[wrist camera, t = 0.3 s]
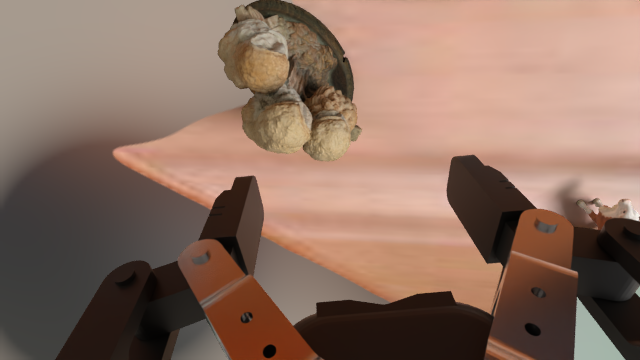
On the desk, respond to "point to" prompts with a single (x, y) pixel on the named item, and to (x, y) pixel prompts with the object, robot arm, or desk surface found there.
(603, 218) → the bull figurine
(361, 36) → the desk surface
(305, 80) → the brown stone sculpture
